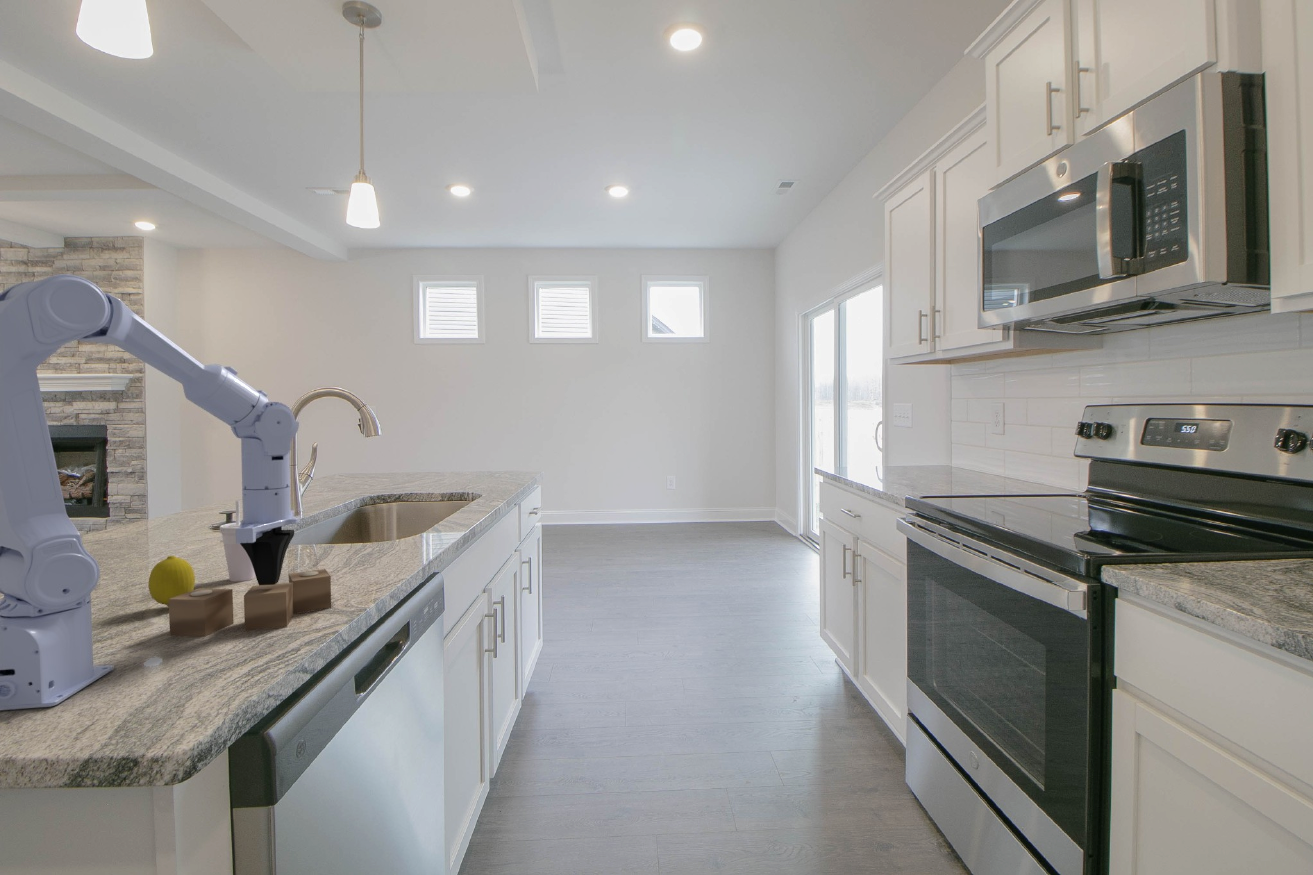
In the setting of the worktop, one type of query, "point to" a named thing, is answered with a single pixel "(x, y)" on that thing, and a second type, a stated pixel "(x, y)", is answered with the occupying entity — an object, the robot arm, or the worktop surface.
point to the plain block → (268, 606)
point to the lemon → (170, 579)
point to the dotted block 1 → (200, 612)
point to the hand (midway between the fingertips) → (268, 583)
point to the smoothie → (236, 552)
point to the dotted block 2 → (311, 590)
